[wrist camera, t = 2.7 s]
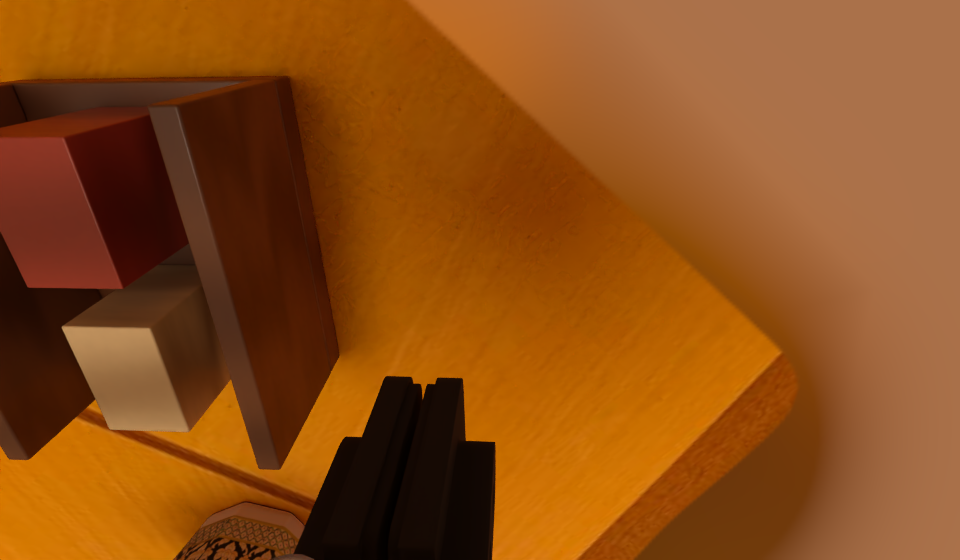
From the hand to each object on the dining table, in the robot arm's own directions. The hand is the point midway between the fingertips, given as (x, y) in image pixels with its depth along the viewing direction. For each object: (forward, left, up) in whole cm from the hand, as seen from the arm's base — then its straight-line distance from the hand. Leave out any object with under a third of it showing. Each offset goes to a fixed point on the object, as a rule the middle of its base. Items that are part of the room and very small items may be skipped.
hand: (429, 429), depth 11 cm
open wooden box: (0, -11, -10) cm, 15 cm away
